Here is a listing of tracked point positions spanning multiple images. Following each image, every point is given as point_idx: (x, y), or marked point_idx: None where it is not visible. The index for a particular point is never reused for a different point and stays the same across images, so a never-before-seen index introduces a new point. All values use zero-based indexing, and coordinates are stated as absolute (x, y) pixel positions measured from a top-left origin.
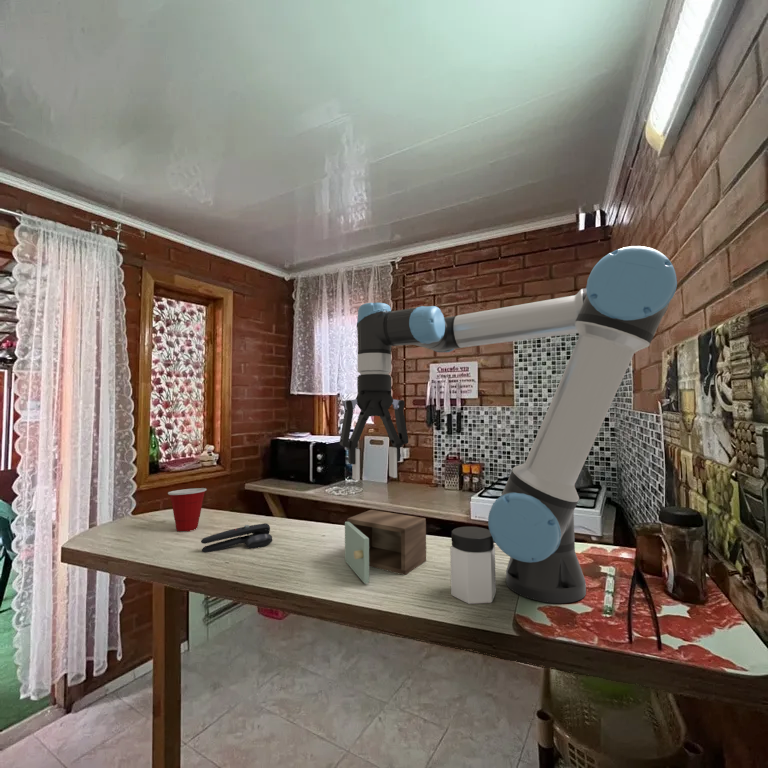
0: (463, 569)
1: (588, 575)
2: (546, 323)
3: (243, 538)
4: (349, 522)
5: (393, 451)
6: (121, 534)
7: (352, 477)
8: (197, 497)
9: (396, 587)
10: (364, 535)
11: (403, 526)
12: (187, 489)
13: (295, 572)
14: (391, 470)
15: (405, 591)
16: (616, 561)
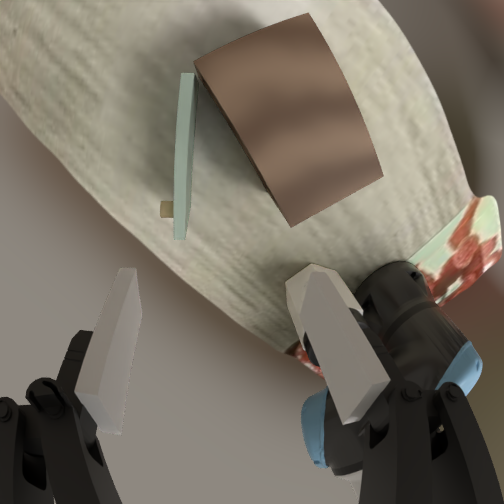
0: (296, 327)
1: (434, 291)
2: None
3: None
4: (191, 83)
5: (338, 406)
6: None
7: (118, 271)
8: None
9: (229, 228)
10: (182, 215)
11: (298, 210)
12: None
13: (88, 98)
14: (313, 314)
15: (235, 246)
16: (473, 275)
